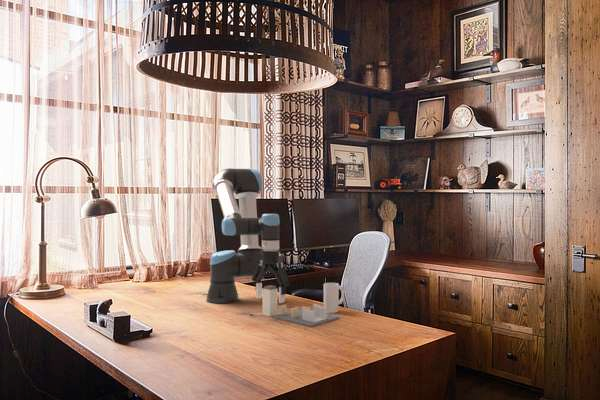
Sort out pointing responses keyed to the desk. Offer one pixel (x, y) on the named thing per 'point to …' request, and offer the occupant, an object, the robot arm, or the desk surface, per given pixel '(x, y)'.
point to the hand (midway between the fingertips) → (270, 300)
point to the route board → (305, 315)
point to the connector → (269, 300)
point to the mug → (332, 297)
